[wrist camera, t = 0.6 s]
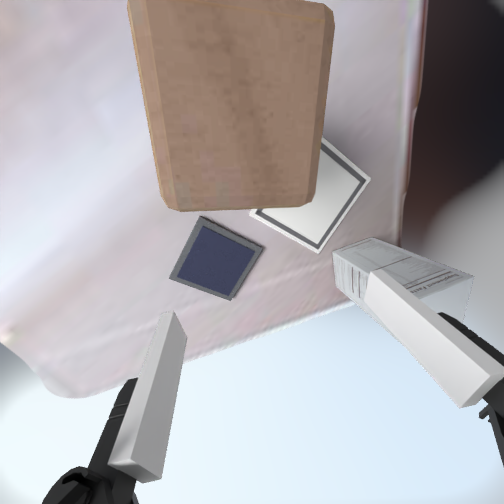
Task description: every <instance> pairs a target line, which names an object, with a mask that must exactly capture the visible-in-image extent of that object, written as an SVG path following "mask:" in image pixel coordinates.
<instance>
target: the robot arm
mask: <svg viewBox="0 0 504 504" xmlns="http://www.w3.org/2000/svg"><path fill="white" fill-rule="evenodd" d="M364 302H365V303H366V304H367V305H368V306H369V307H370V308H371V310H372V311H373V312H374V313H375V314H376V315H377V316H378V317H379V319H380V320H381V321H382V322H383V323H384V324H385V325H386V326H387V328H388V329H389V330H390V331H391V332H392V333H393V334H394V335H395V337H396V338H397V339H398V340H399V341H400V342H401V343H402V344H403V346H404V347H405V348H406V349H407V350H408V351H409V352H410V353H411V355H412V356H413V357H414V358H415V359H416V360H417V361H418V362H419V363H420V365H422V367H423V368H424V369H425V370H426V371H427V372H428V374H429V375H430V376H431V377H432V378H433V379H434V380H435V381H436V382H437V384H438V385H439V386H440V387H441V388H442V389H443V390H444V392H445V393H446V394H447V395H448V396H449V397H450V398H451V399H452V400H453V402H454V403H455V404H456V405H457V406H458V407H459V408H463V407H467V406H472V405H475V404H477V403H478V402H479V401H480V400H481V399H482V398H483V399H484V400H485V401H486V402H487V403H488V405H487V406H486V407H485V408H484V409H483V410H482V411H481V412H479V418H481V419H484V418H485V417H486V416H487V415H489V418H490V419H489V420H488V422H490V423H491V424H492V427H493V431H494V435H495V438H496V442H497V445H498V449H499V452H500V455H501V459H502V462H503V465H504V355H503V354H502V353H501V352H499V351H498V350H496V349H495V348H494V347H493V346H491V345H490V344H489V343H487V342H486V341H485V340H483V339H482V338H481V337H478V335H477V334H475V333H474V332H473V331H471V330H469V329H468V328H467V327H466V326H465V325H463V324H462V323H461V322H460V321H458V320H457V319H455V318H453V317H451V316H449V315H447V314H445V313H443V312H440V313H436V312H435V311H433V310H432V309H431V308H430V307H428V306H427V305H426V304H424V303H423V302H422V301H421V300H419V299H418V298H417V297H416V296H414V295H413V294H412V293H411V292H409V291H408V290H407V289H406V288H404V287H403V286H402V285H401V284H399V283H398V282H397V281H396V280H394V279H393V278H392V277H391V276H389V275H388V274H387V273H386V272H384V271H383V270H382V269H379V270H374V271H370V275H369V279H368V284H367V289H366V293H365V298H364ZM186 342H187V336H186V334H185V332H184V330H183V328H182V326H181V324H180V322H179V320H178V318H177V316H176V314H175V312H174V311H170V312H165V313H162V314H161V317H160V319H159V322H158V325H157V328H156V330H155V333H154V336H153V339H152V342H151V344H150V347H149V350H148V353H147V355H146V358H145V361H144V364H143V367H142V369H141V372H140V375H139V378H134V379H129V380H128V381H127V382H126V383H125V385H124V386H123V388H122V389H121V391H120V392H119V394H118V396H117V399H116V401H115V404H114V408H113V409H112V411H111V413H110V415H109V420H107V423H106V425H105V428H104V430H103V432H102V435H101V437H100V440H99V442H98V444H97V447H96V449H95V452H94V454H93V456H92V459H91V461H90V464H89V466H88V468H85V467H80V466H79V467H76V468H73V469H71V470H69V471H68V472H67V473H65V474H64V475H63V476H61V478H60V479H59V480H58V481H57V482H56V483H55V484H54V485H53V486H52V488H51V489H50V491H49V492H48V494H47V495H46V497H45V498H44V500H43V502H42V504H139V503H138V500H137V497H136V494H135V493H134V488H135V483H136V480H137V481H139V482H141V483H146V482H151V481H155V480H159V479H161V478H162V473H163V467H164V462H165V456H166V451H167V445H168V440H169V435H170V429H171V424H172V418H173V413H174V407H175V402H176V396H177V391H178V385H179V380H180V375H181V369H182V364H183V358H184V353H185V347H186Z"/></svg>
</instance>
